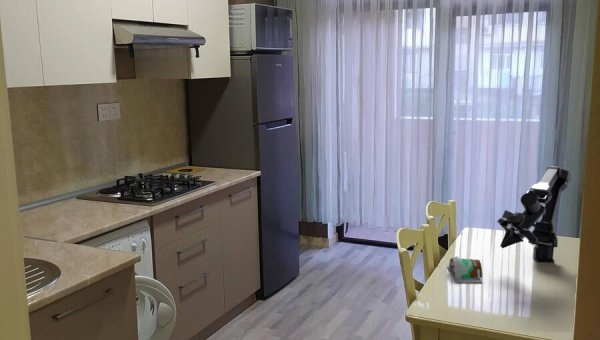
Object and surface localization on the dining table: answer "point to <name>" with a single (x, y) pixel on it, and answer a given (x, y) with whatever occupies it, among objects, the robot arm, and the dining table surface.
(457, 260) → the food container
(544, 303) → the dining table surface
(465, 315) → the dining table surface
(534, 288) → the dining table surface
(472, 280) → the grey rubber mat
